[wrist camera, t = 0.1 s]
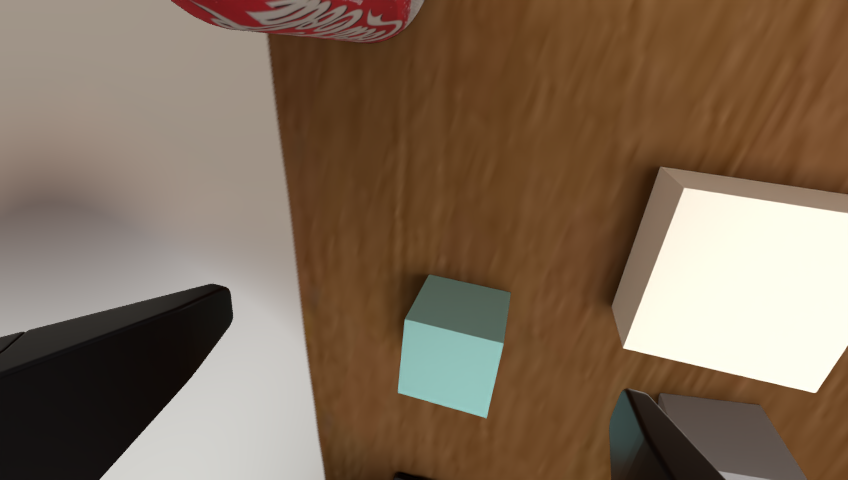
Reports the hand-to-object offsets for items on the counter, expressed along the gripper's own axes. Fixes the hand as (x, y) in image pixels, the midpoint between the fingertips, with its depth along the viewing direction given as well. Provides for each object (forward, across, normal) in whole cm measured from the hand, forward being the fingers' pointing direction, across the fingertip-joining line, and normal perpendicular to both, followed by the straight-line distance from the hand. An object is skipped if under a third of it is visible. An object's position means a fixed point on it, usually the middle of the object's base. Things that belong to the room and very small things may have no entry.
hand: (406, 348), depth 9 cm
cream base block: (+15, -12, +2) cm, 19 cm away
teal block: (+15, 0, +9) cm, 17 cm away
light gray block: (+15, -15, +13) cm, 25 cm away
